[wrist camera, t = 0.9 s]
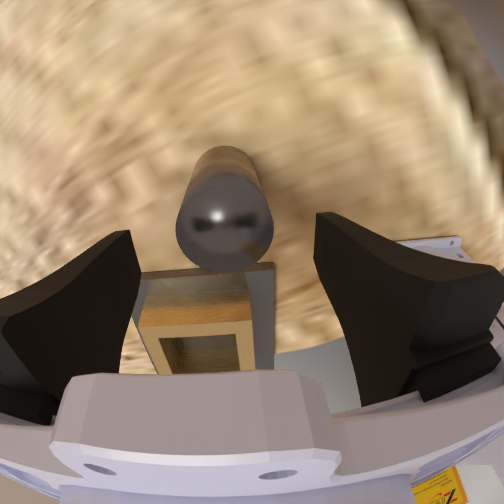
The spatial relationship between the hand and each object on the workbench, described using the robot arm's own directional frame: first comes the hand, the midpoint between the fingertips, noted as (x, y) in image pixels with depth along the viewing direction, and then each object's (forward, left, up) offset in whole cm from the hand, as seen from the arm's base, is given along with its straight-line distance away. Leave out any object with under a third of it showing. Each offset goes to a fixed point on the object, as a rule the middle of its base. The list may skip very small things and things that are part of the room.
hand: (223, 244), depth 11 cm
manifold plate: (+3, +16, -9) cm, 19 cm away
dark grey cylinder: (0, 0, -9) cm, 9 cm away
